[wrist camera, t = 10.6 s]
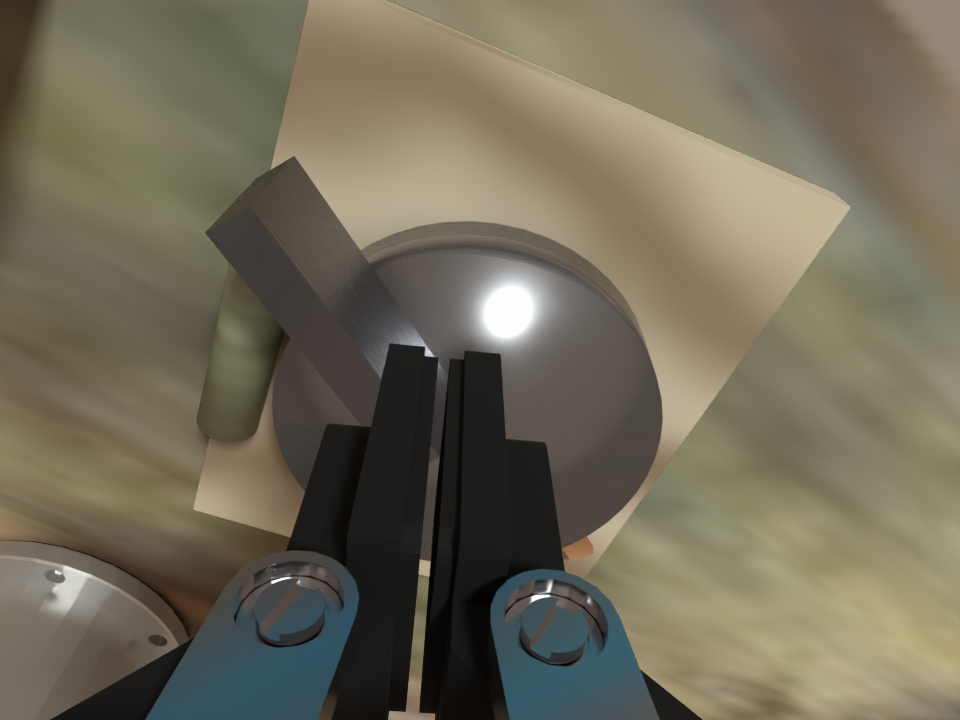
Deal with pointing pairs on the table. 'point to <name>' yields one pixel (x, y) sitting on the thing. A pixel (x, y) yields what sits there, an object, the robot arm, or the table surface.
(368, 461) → the robot arm
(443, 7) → the table surface
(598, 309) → the disc
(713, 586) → the table surface
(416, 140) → the stand
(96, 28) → the table surface
